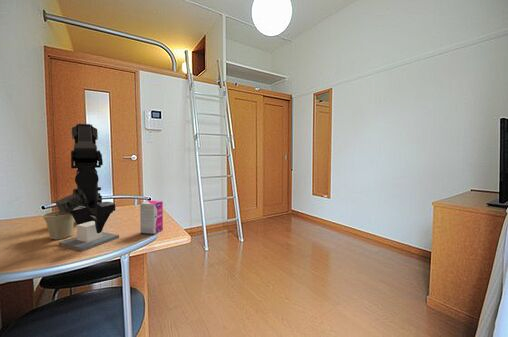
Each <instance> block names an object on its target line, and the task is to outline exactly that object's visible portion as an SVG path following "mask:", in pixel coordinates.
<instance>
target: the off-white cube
mask: <svg viewBox="0 0 508 337" xmlns="http://www.w3.org/2000/svg"><path fill="white" fill-rule="evenodd" d="M102 232H103V230H102V231H101V233H97V231H96V226H95V221H90V222H87V223H83V224H79V225H77V224H76V237H77V240H80V241H84V242H89V241H92V240H95V239H98V238H101V237H102Z"/></svg>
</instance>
